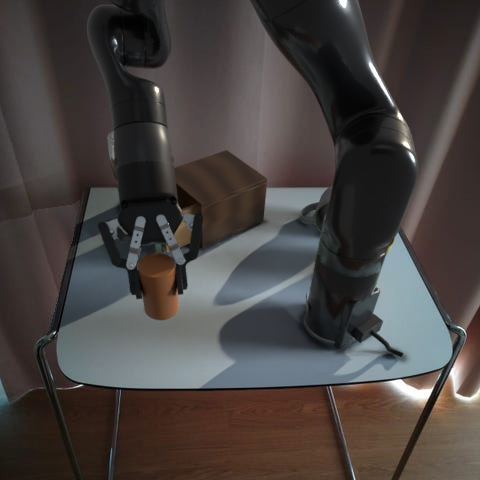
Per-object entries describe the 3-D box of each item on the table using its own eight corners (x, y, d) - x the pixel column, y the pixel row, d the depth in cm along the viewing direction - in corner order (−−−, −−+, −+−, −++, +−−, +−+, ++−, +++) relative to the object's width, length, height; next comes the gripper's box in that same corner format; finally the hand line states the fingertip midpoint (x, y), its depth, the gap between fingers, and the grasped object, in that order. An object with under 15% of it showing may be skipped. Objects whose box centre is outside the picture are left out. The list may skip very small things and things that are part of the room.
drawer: (133, 272, 85) (127, 235, 79) (102, 238, 91) (95, 201, 85) (219, 234, 93) (219, 199, 87) (186, 205, 99) (184, 170, 93)
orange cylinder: (185, 310, 69) (182, 267, 63) (155, 325, 67) (149, 282, 61) (167, 291, 72) (162, 248, 66) (138, 305, 70) (130, 261, 64)
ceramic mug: (354, 216, 100) (362, 182, 94) (350, 240, 94) (357, 206, 89) (302, 207, 101) (307, 173, 96) (295, 230, 96) (299, 196, 90)
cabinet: (202, 248, 91) (201, 204, 84) (166, 215, 98) (162, 171, 91) (263, 221, 97) (267, 178, 90) (226, 192, 104) (226, 149, 97)
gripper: (198, 170, 69) (211, 291, 70) (93, 177, 67) (108, 302, 68) (201, 154, 62) (216, 290, 63) (83, 162, 60) (100, 302, 61)
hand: (159, 296), depth 65 cm, fingers closed on orange cylinder, 5 cm apart
